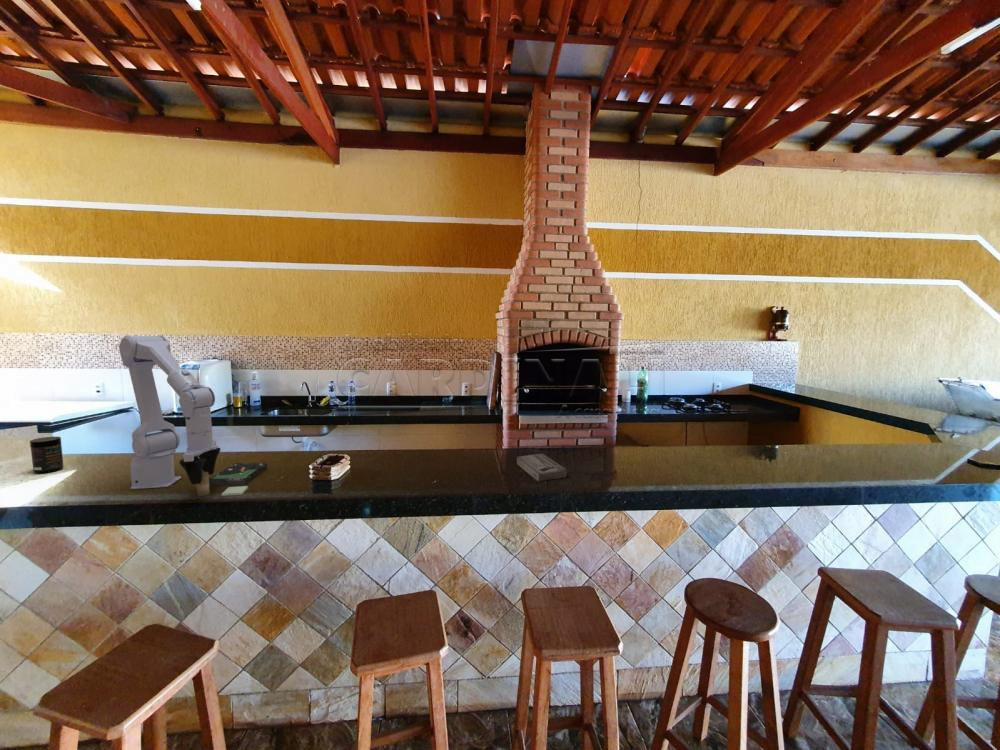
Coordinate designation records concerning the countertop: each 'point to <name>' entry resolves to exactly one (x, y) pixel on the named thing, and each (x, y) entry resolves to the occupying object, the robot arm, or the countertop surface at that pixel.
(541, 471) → the box
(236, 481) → the disk drive
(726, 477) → the countertop surface
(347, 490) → the countertop surface
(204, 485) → the dowel
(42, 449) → the supplement container
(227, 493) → the pad
